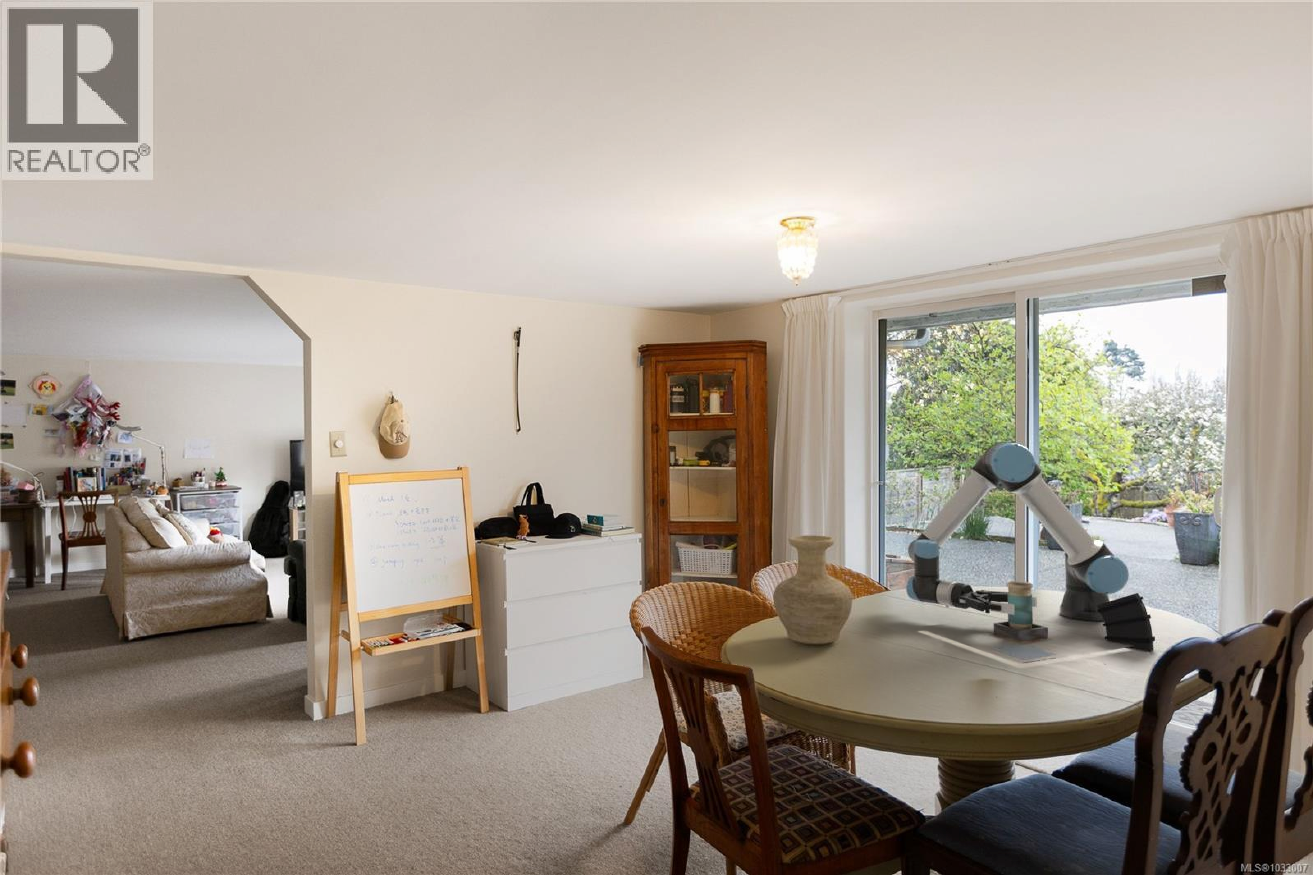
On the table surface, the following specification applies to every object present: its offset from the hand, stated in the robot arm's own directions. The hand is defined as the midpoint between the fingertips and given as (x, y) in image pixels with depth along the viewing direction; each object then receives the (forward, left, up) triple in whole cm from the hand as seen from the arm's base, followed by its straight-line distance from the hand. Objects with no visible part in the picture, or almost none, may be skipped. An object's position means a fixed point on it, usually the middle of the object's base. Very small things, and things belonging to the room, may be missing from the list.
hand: (1025, 605), depth 223 cm
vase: (+55, -24, -10) cm, 61 cm away
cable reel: (0, -2, -9) cm, 9 cm away
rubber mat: (+12, +11, -10) cm, 19 cm away
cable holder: (0, -2, -10) cm, 10 cm away
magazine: (-20, +15, -10) cm, 27 cm away
